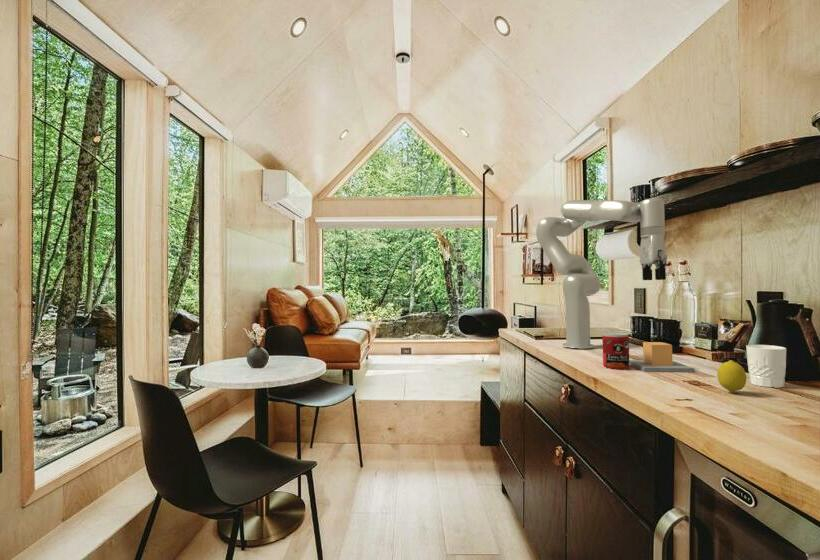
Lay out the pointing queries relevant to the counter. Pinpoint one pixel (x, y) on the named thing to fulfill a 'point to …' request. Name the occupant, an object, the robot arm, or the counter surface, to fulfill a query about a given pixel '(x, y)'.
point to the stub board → (660, 367)
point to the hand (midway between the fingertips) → (653, 279)
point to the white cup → (766, 365)
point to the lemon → (731, 376)
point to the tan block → (657, 353)
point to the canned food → (615, 350)
